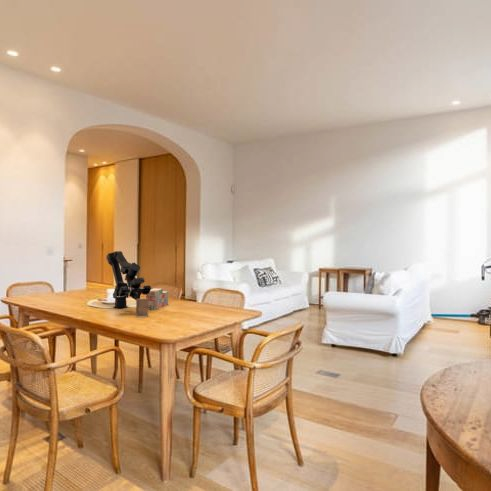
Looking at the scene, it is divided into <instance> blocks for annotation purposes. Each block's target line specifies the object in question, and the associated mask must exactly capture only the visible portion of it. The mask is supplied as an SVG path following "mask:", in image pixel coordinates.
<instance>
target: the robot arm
mask: <svg viewBox="0 0 491 491" xmlns="http://www.w3.org/2000/svg"><path fill="white" fill-rule="evenodd" d="M106 261H107V263H108V264H109V265H110V266H111V268H112V273H113V276H114V277H113V278H114V281H115V287H114V290H113V292H112V298H113V299H114V306H113V308H115V309H124V308H128V305H127V298H128V299H129V297H131V298H132V299H133V300H135V301H136V299H141V295H146V294H149V292H150V290H151V289H152V286H151V285H150V284H149V285H143V286H142V284H143V283H145V282H146V281H145V278H144V277H143V276H141V277H137V276H138V275H139V272H140V270H141V266H139V264H136V262H132V263H131V262H128V261H127V259H126V257H125V255H124V254H123V252H122V250H119V251H118V250H117V251H116V250H115V251H113V252H108V254H106ZM123 275H125V276H124V279H123ZM124 281H126V282H124ZM141 286H142V287H141Z"/></svg>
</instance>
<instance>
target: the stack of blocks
mask: <svg viewBox="0 0 491 491" xmlns="http://www.w3.org/2000/svg"><path fill="white" fill-rule="evenodd" d="M145 295H146V297H145V299H148V311H156V310H160V309H161V308H163V307H165V306H168V305H169V304H168V303H169V291H168V290H164V288H151V290H150V292H149V294H145Z"/></svg>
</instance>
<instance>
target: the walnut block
mask: <svg viewBox="0 0 491 491" xmlns="http://www.w3.org/2000/svg"><path fill="white" fill-rule="evenodd" d="M135 301H136V303H135V305H136V306H135V310H136V311H135V316H136V317H137V318H147V317H148V316H149V310H148V299H146V297H145V298H142V297H141V298H140V299H136V300H135Z"/></svg>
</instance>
